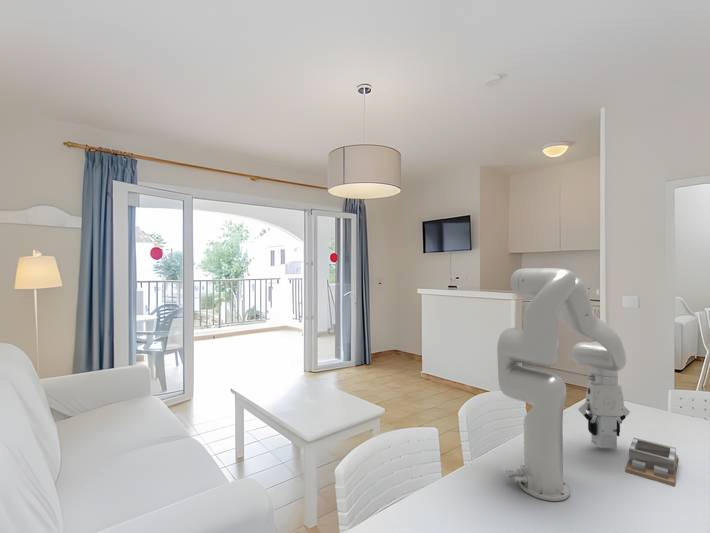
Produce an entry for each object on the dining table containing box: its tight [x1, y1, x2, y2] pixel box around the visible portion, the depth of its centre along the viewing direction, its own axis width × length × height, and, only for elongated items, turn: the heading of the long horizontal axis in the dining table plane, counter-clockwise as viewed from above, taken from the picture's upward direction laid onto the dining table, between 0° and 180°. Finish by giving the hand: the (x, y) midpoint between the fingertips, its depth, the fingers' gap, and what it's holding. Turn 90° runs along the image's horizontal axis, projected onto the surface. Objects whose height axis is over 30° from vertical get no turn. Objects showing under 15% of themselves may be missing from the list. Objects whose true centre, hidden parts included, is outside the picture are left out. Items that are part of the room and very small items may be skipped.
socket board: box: [624, 437, 679, 487], centre depth 114 cm, size 20×11×5 cm, turn 137°
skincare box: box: [590, 416, 618, 449], centre depth 124 cm, size 6×4×12 cm
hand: (603, 433), depth 124 cm, fingers closed on skincare box, 6 cm apart
